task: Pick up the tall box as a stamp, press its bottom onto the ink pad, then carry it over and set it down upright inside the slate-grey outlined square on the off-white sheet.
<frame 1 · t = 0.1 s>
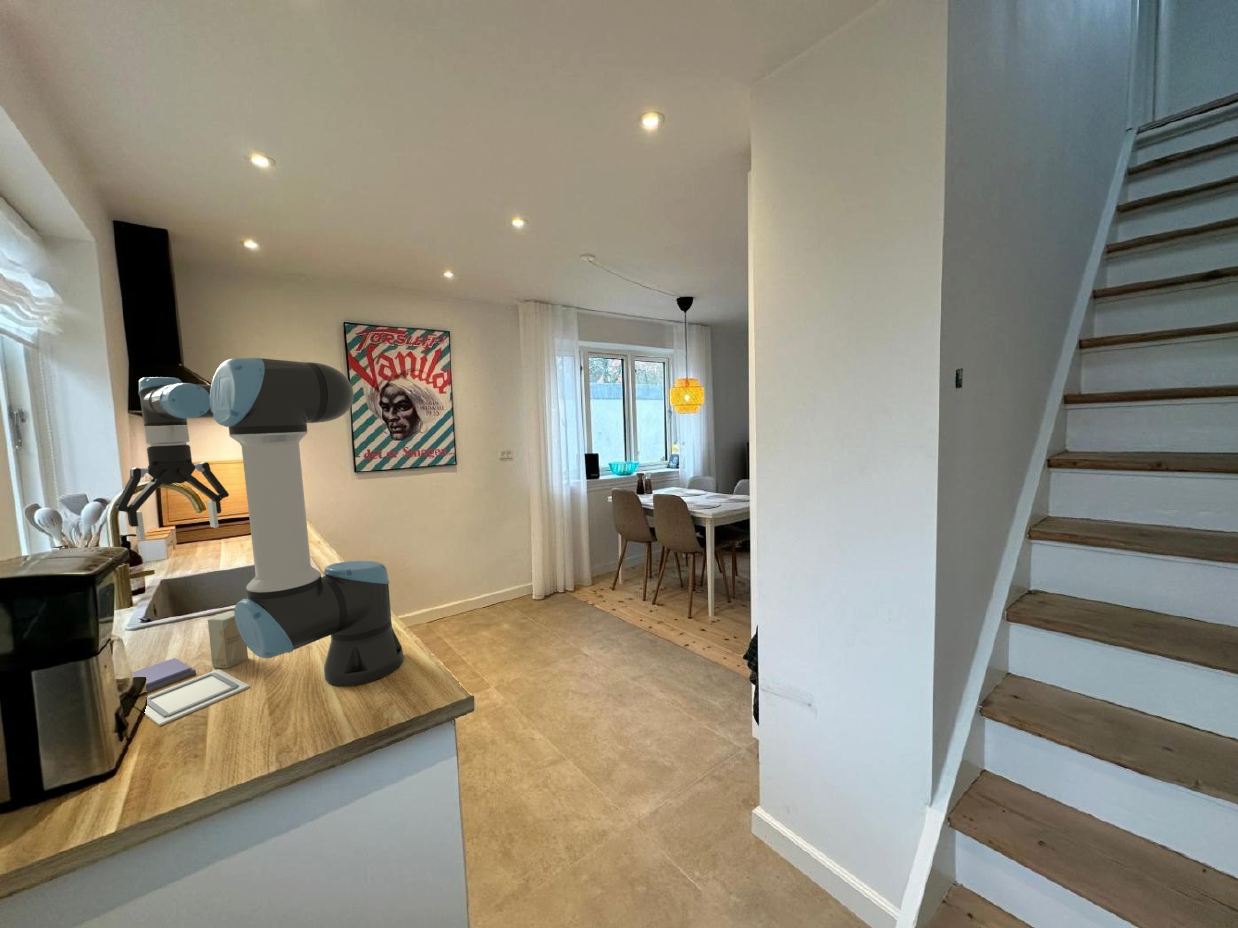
hand: (179, 533, 117), 28 cm above the counter, fingers open, 13 cm apart
ink pad: (156, 679, 104), on the counter
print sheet: (192, 695, 97), on the counter
box: (231, 663, 110), on the counter
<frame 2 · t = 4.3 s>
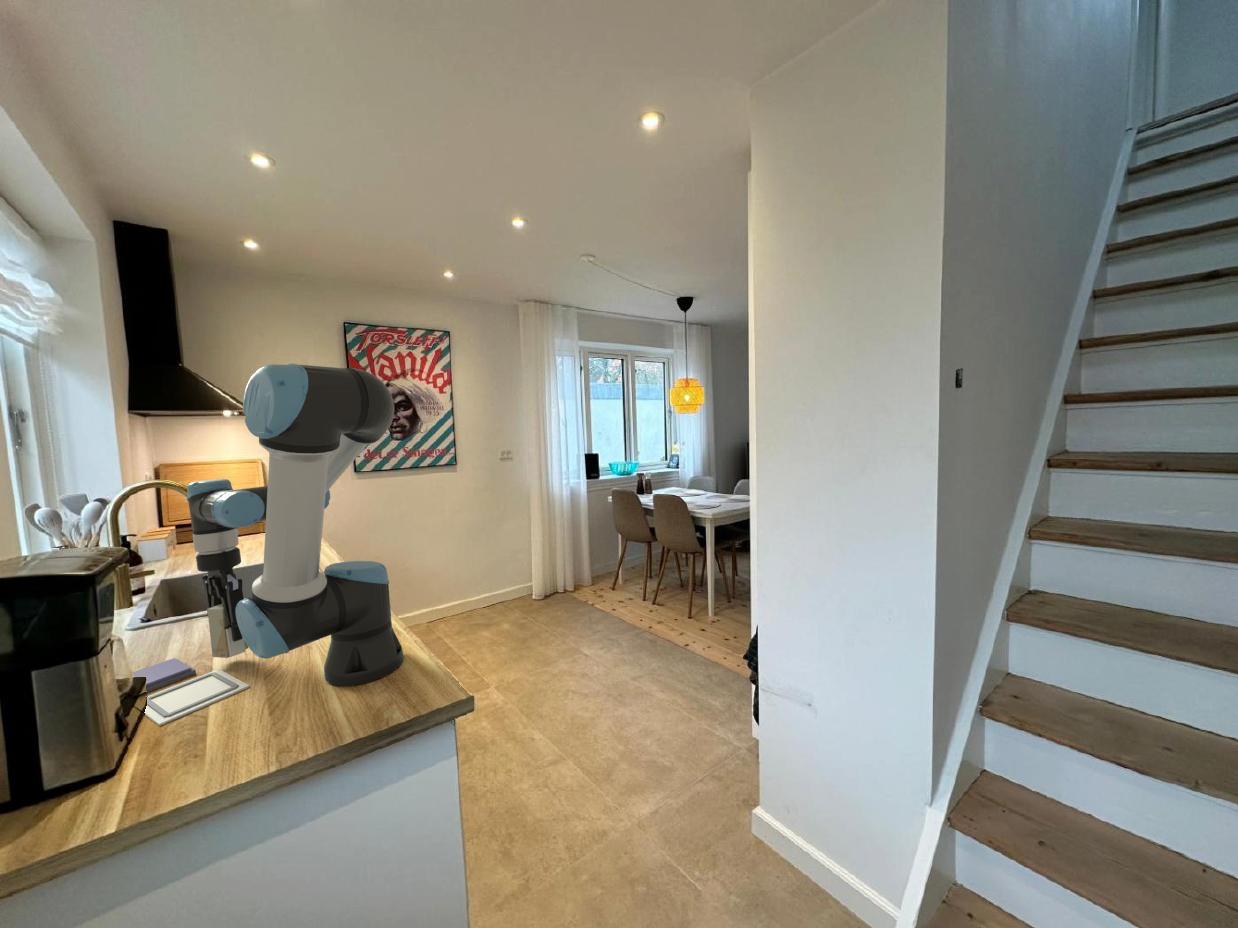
hand: (231, 651, 109), 3 cm above the counter, fingers closed on box, 5 cm apart
box: (231, 653, 110), point 2 cm above the counter, touching gripper
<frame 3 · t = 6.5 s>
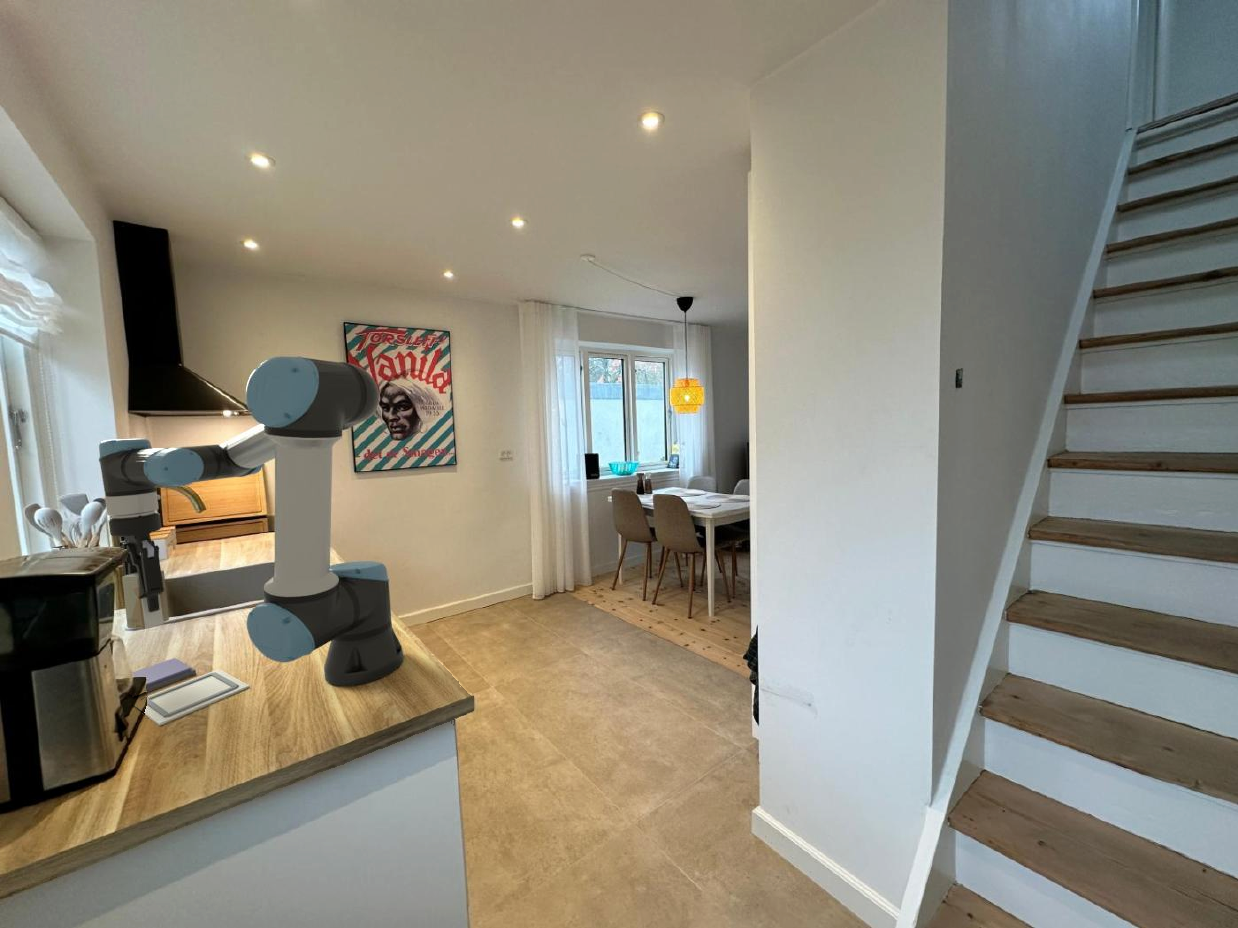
hand: (148, 622, 103), 12 cm above the counter, fingers closed on box, 5 cm apart
box: (149, 624, 103), point 12 cm above the counter, touching gripper
when the fingers open (2 cm above the counter, at t = 8.6 s): box stays where it is, resting on ink pad.
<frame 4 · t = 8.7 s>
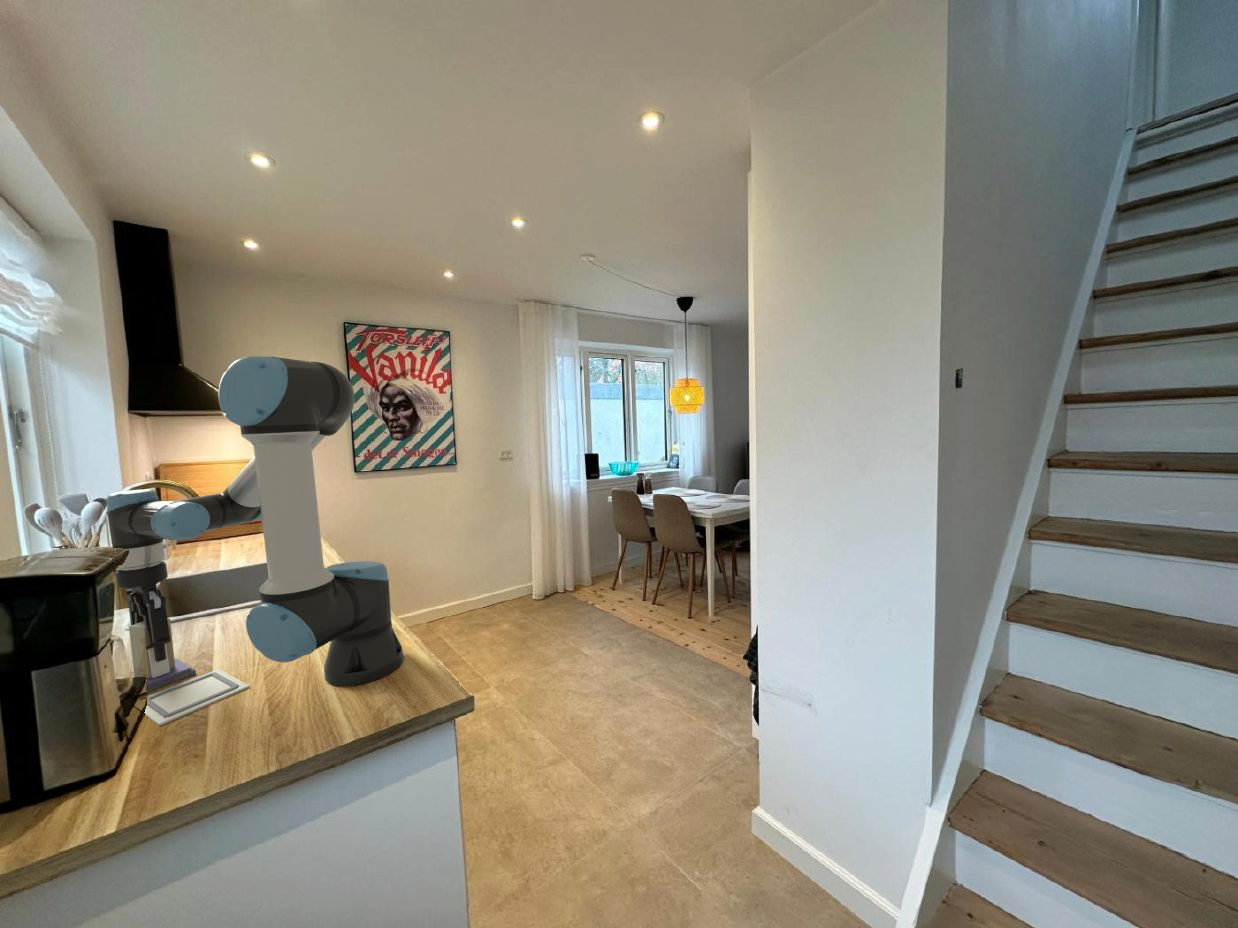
hand: (155, 670, 104), 2 cm above the counter, fingers open, 6 cm apart
box: (155, 672, 104), point 1 cm above the counter, touching ink pad
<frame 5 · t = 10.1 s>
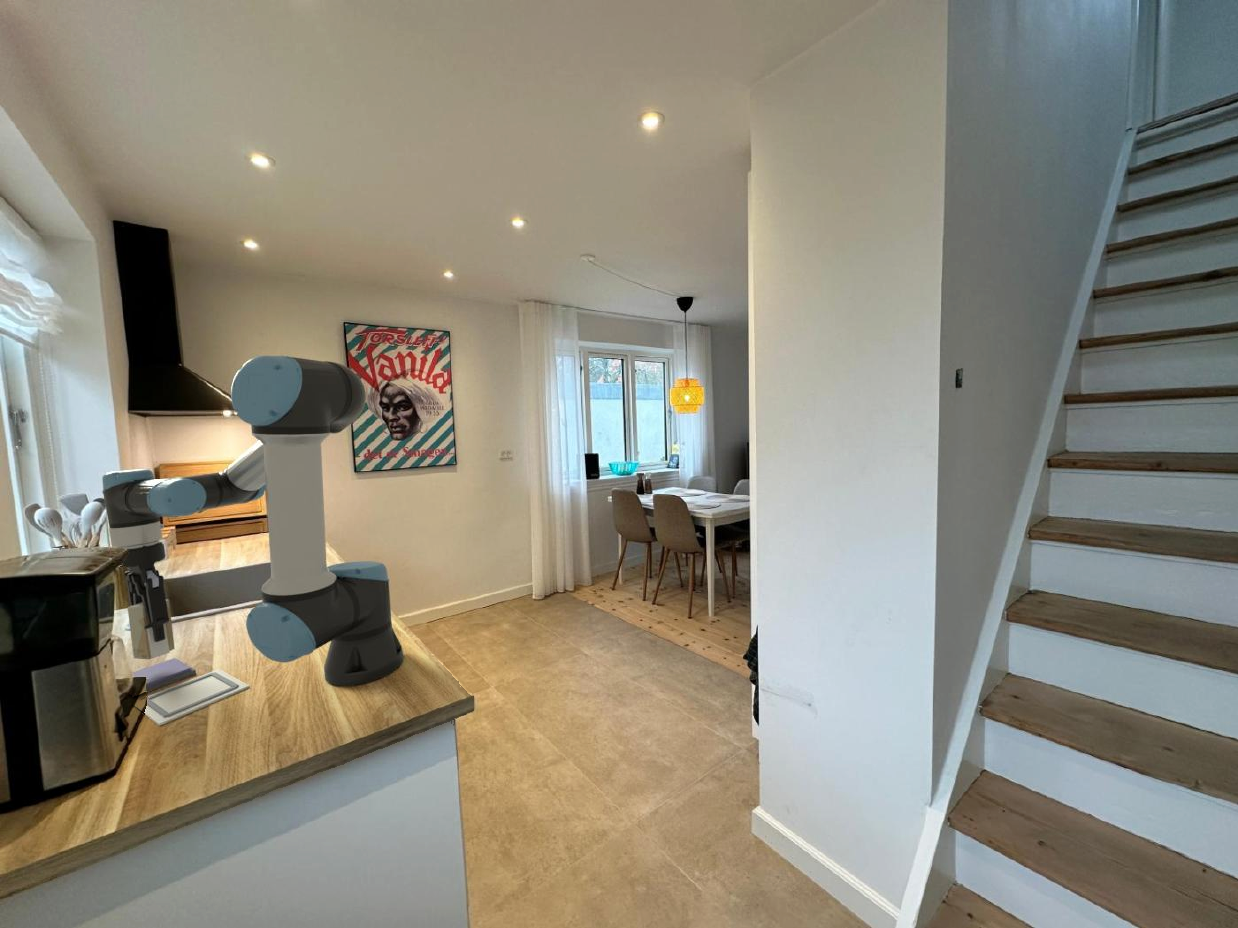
hand: (154, 651, 103), 6 cm above the counter, fingers closed on box, 5 cm apart
box: (155, 654, 103), point 6 cm above the counter, touching gripper
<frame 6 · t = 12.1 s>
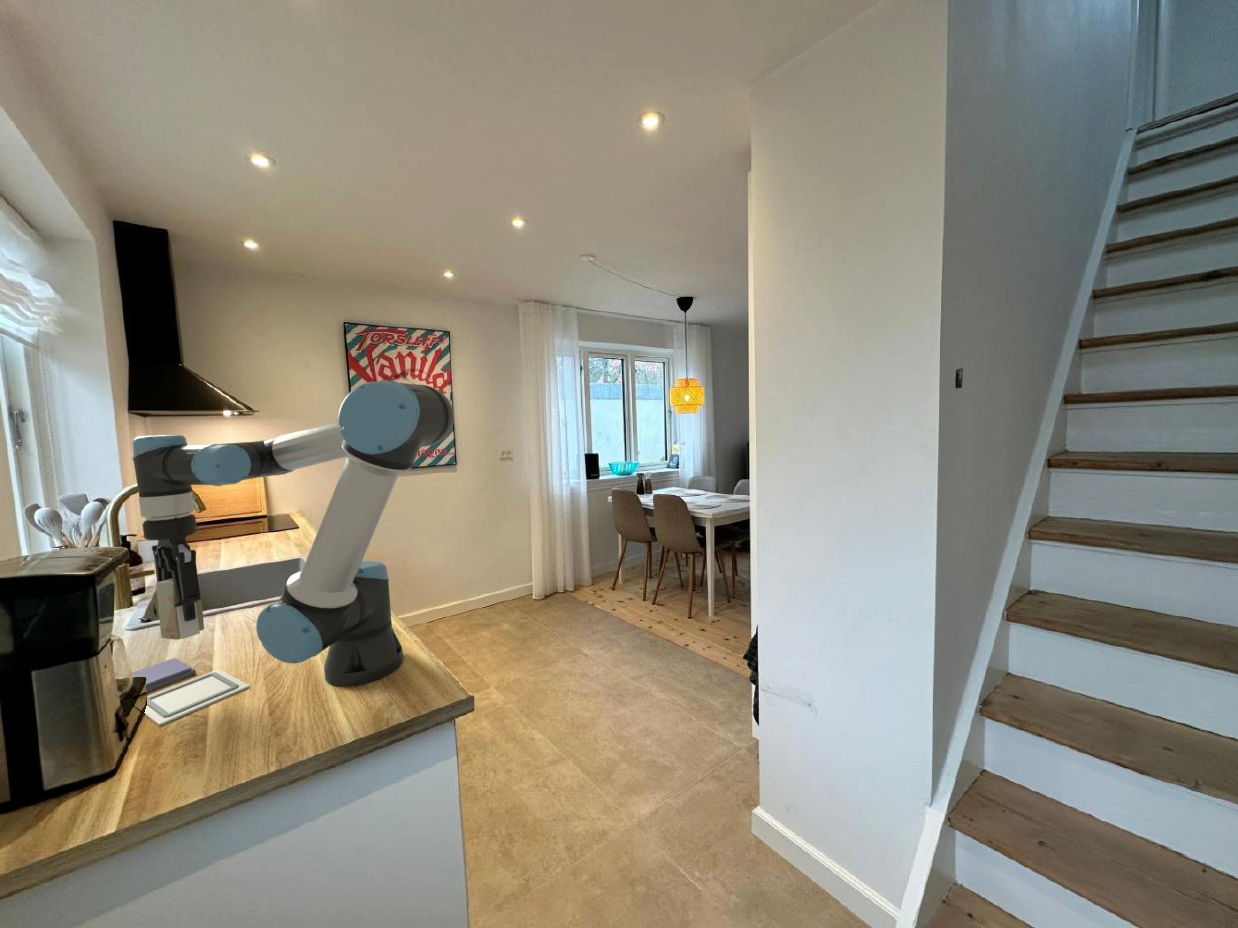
hand: (183, 632, 96), 13 cm above the counter, fingers closed on box, 5 cm apart
box: (183, 634, 96), point 13 cm above the counter, touching gripper
when the fingers open (1 cm above the counter, at t = 14.3 s): box stays where it is, resting on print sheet.
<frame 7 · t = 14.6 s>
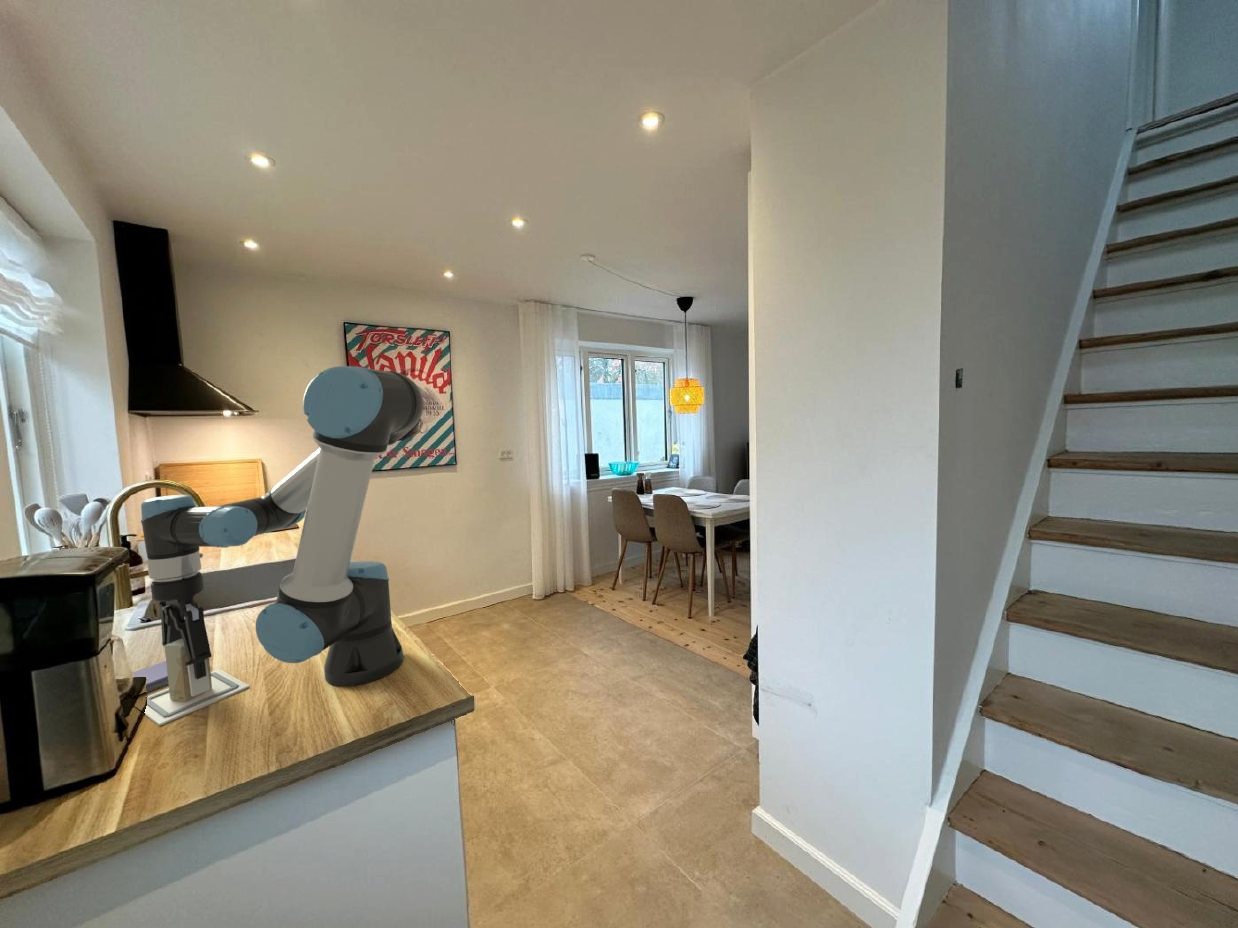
hand: (190, 686, 97), 2 cm above the counter, fingers open, 8 cm apart
box: (192, 694, 97), resting on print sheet
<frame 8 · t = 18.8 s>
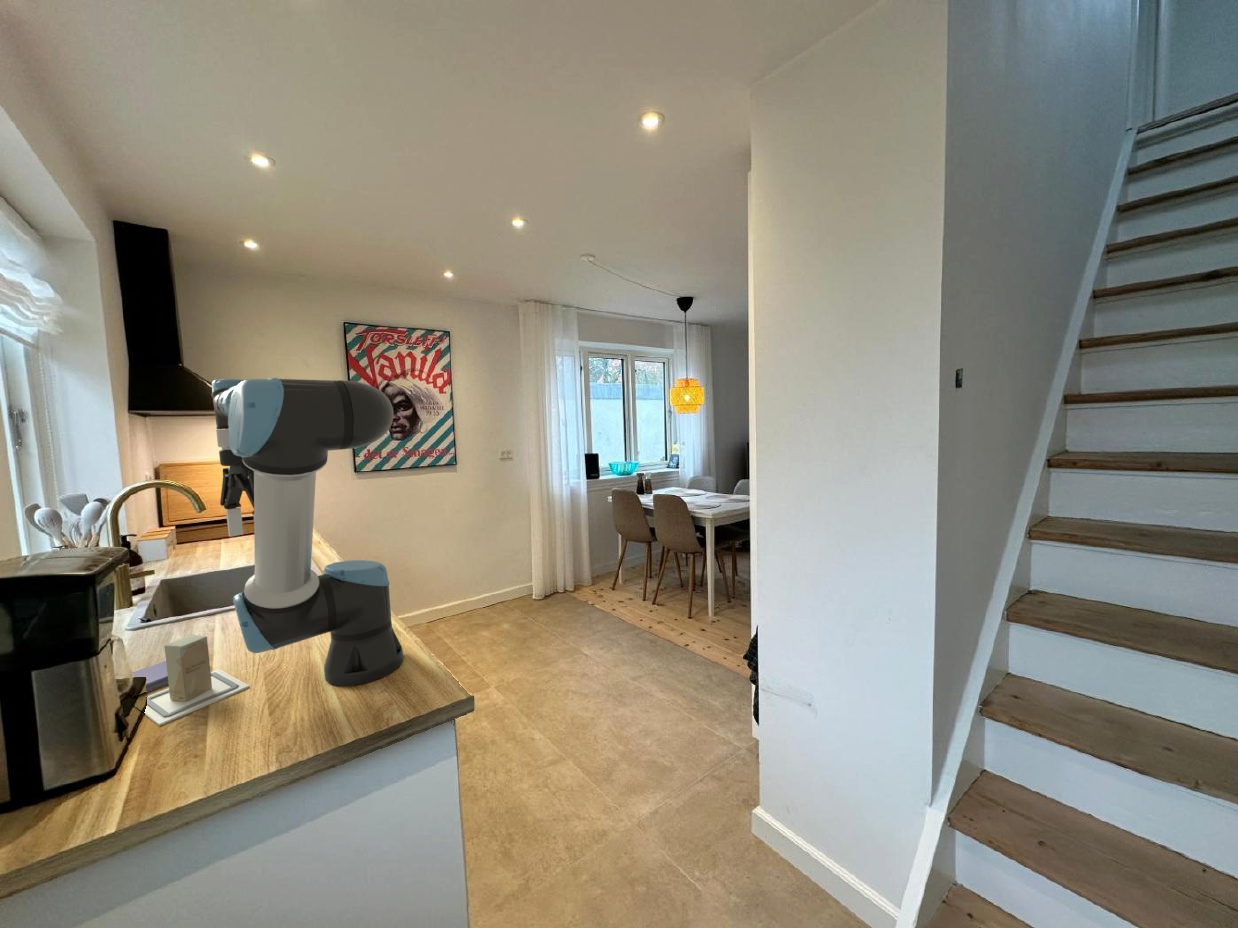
hand: (249, 538, 114), 27 cm above the counter, fingers open, 13 cm apart
nothing on the counter moved.
at the end: box inside the target area on the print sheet (0.0 cm from its centre), point 0.2 cm above the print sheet's base; box tilted 0°; the gripper is holding nothing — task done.
